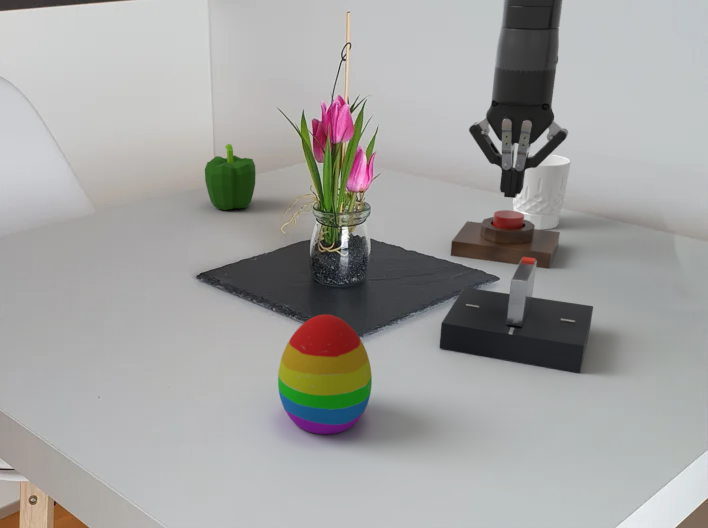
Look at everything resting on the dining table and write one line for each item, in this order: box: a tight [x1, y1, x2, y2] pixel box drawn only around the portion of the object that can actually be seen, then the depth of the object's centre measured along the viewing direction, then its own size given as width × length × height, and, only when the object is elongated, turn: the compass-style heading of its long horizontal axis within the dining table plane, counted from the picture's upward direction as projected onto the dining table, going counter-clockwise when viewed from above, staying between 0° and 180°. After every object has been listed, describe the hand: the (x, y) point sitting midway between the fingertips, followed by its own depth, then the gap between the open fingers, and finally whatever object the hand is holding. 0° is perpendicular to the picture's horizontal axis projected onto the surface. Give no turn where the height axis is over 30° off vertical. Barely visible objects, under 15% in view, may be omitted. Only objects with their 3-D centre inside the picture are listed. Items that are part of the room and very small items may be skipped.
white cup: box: [512, 153, 572, 230], centre depth 126 cm, size 8×8×10 cm
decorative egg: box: [277, 313, 373, 435], centre depth 73 cm, size 8×8×10 cm
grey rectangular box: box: [506, 257, 537, 327], centre depth 88 cm, size 7×2×5 cm, turn 156°
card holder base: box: [439, 286, 594, 374], centre depth 89 cm, size 14×11×3 cm
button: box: [493, 209, 524, 229], centre depth 115 cm, size 4×4×2 cm
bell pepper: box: [204, 143, 256, 211], centre depth 136 cm, size 8×8×10 cm
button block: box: [450, 216, 561, 270], centre depth 116 cm, size 13×10×4 cm
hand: (510, 196), depth 113 cm, fingers closed
